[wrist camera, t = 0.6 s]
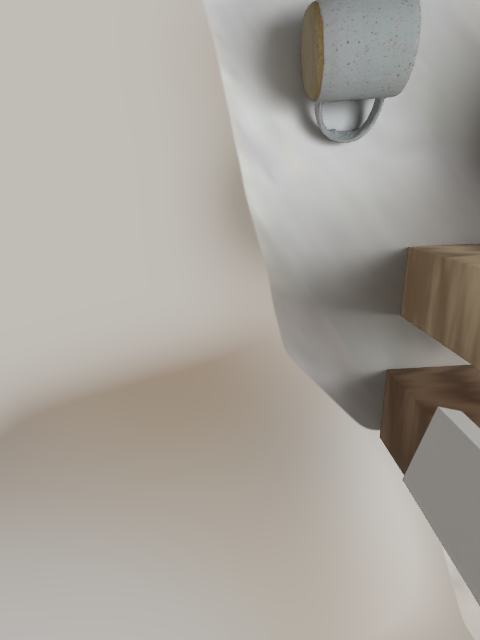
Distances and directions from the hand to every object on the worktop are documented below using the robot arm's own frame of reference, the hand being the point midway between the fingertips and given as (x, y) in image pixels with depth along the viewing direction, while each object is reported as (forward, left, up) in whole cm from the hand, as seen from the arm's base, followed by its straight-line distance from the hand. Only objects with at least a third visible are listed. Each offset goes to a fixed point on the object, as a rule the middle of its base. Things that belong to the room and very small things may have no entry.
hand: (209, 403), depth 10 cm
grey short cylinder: (-20, +2, -31) cm, 37 cm away
